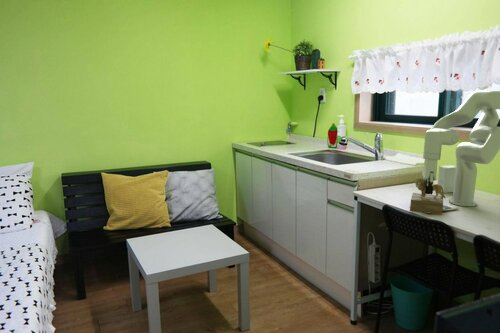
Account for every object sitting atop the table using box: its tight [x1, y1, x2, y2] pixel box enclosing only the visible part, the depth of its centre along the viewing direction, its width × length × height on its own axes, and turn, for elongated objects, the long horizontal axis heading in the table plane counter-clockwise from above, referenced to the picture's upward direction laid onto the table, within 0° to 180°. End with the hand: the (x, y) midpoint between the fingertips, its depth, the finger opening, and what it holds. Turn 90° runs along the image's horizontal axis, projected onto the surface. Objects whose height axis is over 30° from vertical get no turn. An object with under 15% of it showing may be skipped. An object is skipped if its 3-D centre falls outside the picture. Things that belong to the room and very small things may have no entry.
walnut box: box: [409, 192, 444, 216], centre depth 190 cm, size 14×14×6 cm
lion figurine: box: [415, 177, 447, 200], centre depth 188 cm, size 15×5×9 cm, turn 82°
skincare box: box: [437, 164, 456, 194], centre depth 221 cm, size 8×6×15 cm
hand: (428, 192), depth 189 cm, fingers closed on lion figurine, 4 cm apart
